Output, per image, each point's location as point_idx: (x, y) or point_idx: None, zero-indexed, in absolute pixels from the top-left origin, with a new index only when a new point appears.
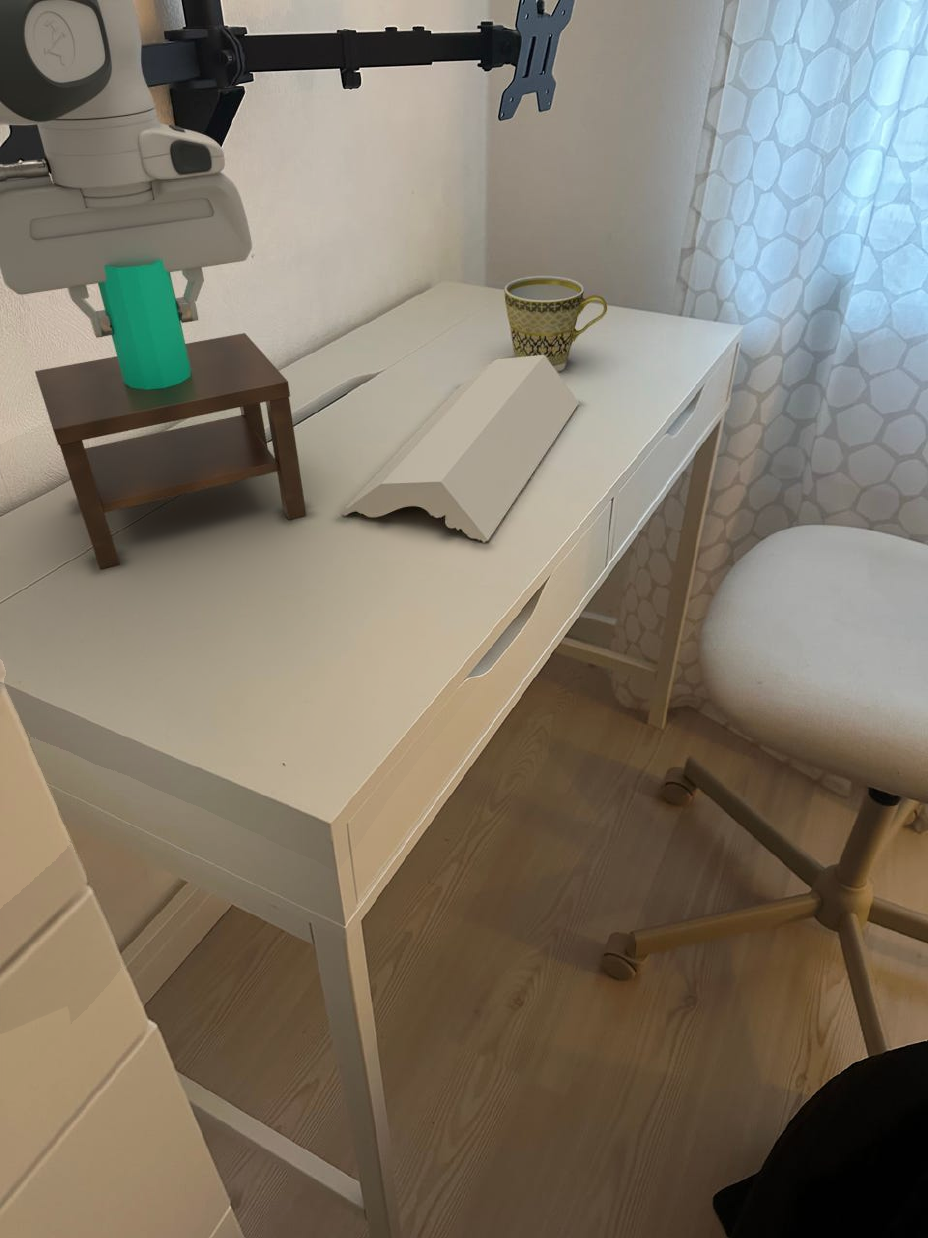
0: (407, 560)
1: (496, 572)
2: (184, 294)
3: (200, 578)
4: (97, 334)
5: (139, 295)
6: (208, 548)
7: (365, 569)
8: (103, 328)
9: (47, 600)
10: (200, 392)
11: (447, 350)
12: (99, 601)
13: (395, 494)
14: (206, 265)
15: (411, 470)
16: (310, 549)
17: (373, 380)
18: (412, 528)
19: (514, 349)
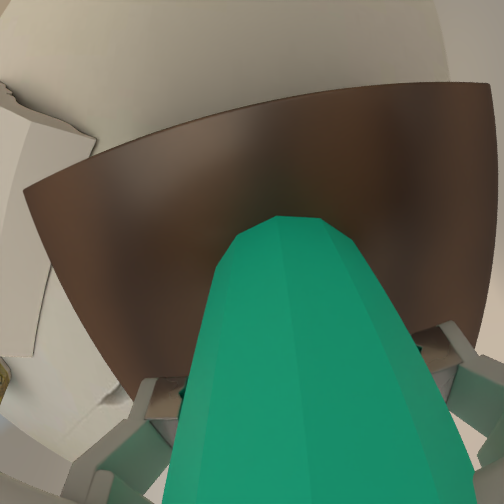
0: (53, 51)
1: (4, 39)
2: (169, 456)
3: (262, 38)
4: (451, 322)
5: (323, 420)
6: (252, 97)
7: (88, 35)
8: (438, 339)
9: (419, 59)
10: (185, 164)
11: (60, 410)
12: (370, 34)
13: (27, 113)
14: (31, 489)
15: (4, 142)
16: (135, 74)
17: (102, 395)
18: (41, 108)
19: (3, 377)
